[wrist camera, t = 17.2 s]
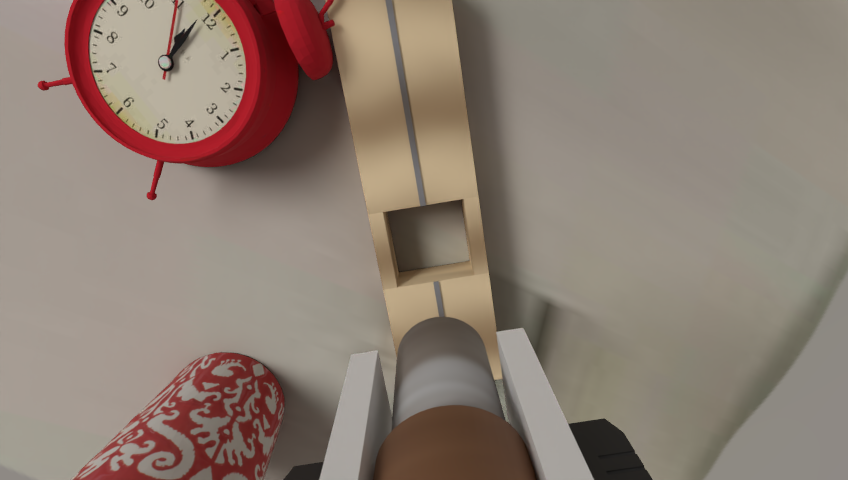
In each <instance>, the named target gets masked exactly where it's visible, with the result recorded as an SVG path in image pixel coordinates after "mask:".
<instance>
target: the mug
mask: <svg viewBox="0 0 848 480" xmlns="http://www.w3.org/2000/svg"><path fill="white" fill-rule="evenodd" d="M284 408H285V404H284V395H283V392H282V389H281V387H280V385H279V383H278V381H277V379H276V378H275V377H274V375H273V374H272V373H271V372H270V371H269V370H268V369H267V368H266V367H265V366H264V365H262V364H261V363H259V362H257V361H256V360H254V359H252V358H250V357H247V356H244V355H240V354H236V353H222V352H221V353H214V354H210V355H206V356H204V357H201V358H199V359H197V360H195V361H194V362H192V363H191V364H189V365H188V366H187V367H185V368H184V369H183V370H182V371H181V372H180V373H179V374H178V375H177V376H176V377H175V378H174V379H173V380H172V381H171V382H170V384H169V385H168V386H167V387H166V388H165V389H164V390H163V391H162V392H161V393H159V394H158V395H157V396H156V397H155V398H154V399H153V400H152V401H151V402H150V403H149V404H148V405H147V406H146V407H145V408H144V409H143V410H142V411H141V412H140V413H139V414H138V415H137V416H135V417H134V418H133V419H132V420H131V421H130V422H129V424H128V425H127V426H126V427H125V428H124V429H123V430H122V431H121V432H120V433H119V434H118V435H117V436H116V437H114V438H113V439H112V440H111V441H110V442H109V443H108V444H107V445H106V446H105V447H104V448H103V449H102V450H101V451H100V452H99V453H98V454H97V455H96V456H95V457H94V458H93V459H92V460H91V461H90V462H89V463H87V464H86V465H85V466H84V467H83V468H82V469H81V470H80V471H79V472H78V473H77V474H76V475H75V476H74V477H73V478H72V479H71V480H264V477H265V474H266V470H267V467H268V464H269V461H270V458H271V454H272V451H273V448H274V445H275V442H276V440H277V437H278V432H279V429H280V426H281V423H282V420H283V415H284Z"/></svg>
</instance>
